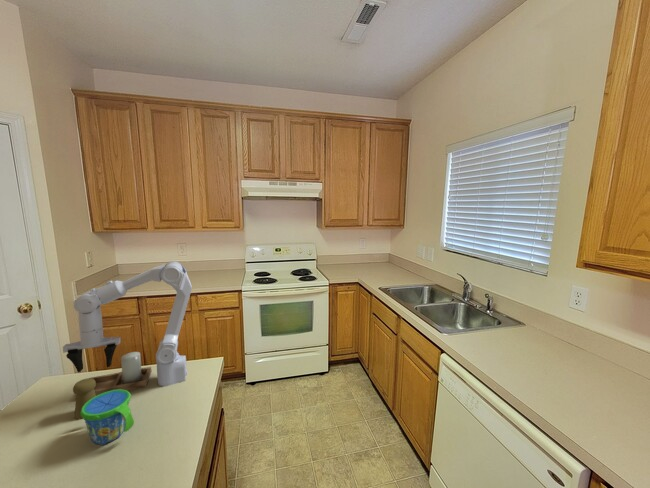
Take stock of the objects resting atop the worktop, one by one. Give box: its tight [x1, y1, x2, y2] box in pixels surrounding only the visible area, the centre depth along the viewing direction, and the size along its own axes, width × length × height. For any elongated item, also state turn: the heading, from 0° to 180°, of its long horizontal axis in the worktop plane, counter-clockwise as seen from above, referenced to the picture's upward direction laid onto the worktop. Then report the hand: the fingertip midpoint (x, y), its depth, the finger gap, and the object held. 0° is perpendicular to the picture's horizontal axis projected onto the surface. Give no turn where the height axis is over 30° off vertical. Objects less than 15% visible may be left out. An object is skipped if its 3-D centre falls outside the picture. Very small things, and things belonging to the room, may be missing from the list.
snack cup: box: [80, 389, 135, 446], centre depth 75 cm, size 16×10×10 cm
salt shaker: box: [120, 351, 142, 384], centre depth 98 cm, size 6×6×10 cm
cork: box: [72, 377, 96, 420], centre depth 83 cm, size 6×6×11 cm
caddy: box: [90, 366, 152, 396], centre depth 96 cm, size 19×10×3 cm, turn 113°
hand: (95, 368), depth 90 cm, fingers open, 7 cm apart
